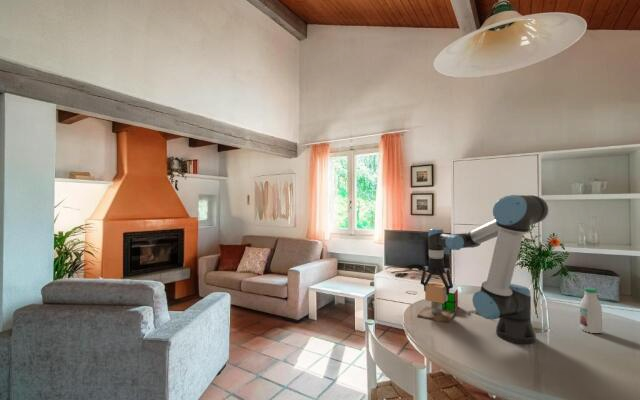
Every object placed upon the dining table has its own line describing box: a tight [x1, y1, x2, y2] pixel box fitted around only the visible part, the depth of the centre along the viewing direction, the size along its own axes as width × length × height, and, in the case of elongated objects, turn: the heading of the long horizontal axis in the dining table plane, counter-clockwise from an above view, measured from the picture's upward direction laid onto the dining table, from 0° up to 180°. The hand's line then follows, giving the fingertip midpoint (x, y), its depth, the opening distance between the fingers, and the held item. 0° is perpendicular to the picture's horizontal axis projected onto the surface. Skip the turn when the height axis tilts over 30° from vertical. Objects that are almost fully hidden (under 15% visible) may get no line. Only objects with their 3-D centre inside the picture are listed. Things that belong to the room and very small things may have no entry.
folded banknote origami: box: [467, 309, 482, 317], centre depth 166 cm, size 15×10×13 cm
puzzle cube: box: [442, 288, 459, 312], centre depth 177 cm, size 10×10×10 cm
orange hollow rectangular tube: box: [425, 281, 446, 303], centre depth 165 cm, size 9×9×8 cm
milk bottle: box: [579, 286, 603, 334], centre depth 143 cm, size 8×8×20 cm
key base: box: [416, 301, 457, 324], centre depth 165 cm, size 16×16×7 cm
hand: (436, 299), depth 165 cm, fingers closed on orange hollow rectangular tube, 9 cm apart
